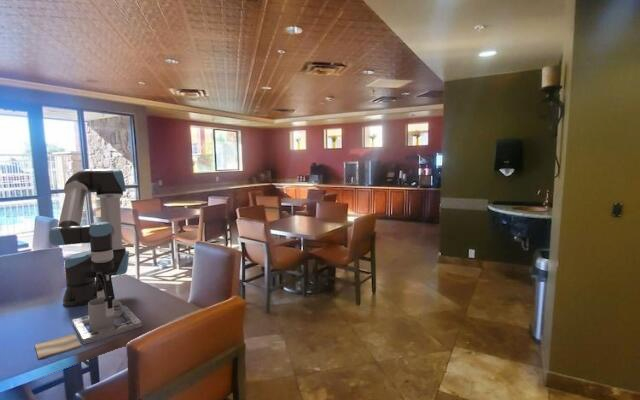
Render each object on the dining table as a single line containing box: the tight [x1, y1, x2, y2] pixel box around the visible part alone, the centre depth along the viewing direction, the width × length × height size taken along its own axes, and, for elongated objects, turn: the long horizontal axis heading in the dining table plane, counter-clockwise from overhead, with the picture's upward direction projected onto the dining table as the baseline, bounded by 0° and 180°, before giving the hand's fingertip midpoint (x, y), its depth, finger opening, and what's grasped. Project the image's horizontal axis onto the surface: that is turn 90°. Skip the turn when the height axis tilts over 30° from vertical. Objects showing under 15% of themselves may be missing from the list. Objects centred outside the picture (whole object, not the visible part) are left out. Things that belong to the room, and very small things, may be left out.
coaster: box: [34, 332, 82, 360], centre depth 124 cm, size 12×12×1 cm
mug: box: [87, 297, 124, 332], centre depth 139 cm, size 12×8×11 cm
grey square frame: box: [71, 305, 143, 345], centre depth 140 cm, size 22×20×2 cm
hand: (105, 310), depth 139 cm, fingers open, 13 cm apart
